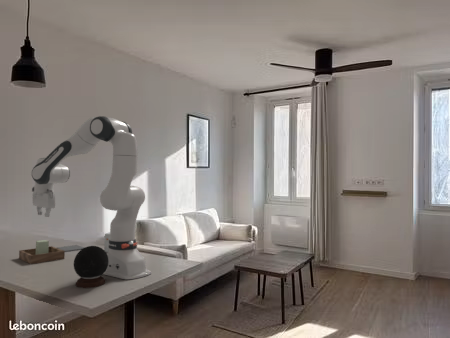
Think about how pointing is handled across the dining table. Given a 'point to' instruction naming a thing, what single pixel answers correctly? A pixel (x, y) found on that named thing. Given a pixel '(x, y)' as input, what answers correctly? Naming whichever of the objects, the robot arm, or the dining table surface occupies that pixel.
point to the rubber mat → (71, 248)
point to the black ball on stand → (90, 266)
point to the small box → (106, 242)
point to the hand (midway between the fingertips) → (43, 215)
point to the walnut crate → (41, 255)
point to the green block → (42, 247)
